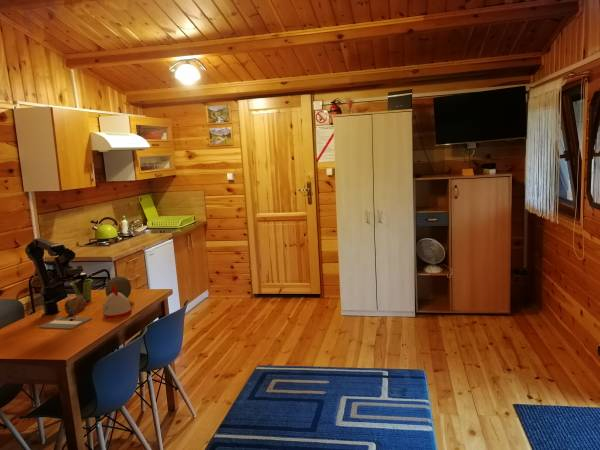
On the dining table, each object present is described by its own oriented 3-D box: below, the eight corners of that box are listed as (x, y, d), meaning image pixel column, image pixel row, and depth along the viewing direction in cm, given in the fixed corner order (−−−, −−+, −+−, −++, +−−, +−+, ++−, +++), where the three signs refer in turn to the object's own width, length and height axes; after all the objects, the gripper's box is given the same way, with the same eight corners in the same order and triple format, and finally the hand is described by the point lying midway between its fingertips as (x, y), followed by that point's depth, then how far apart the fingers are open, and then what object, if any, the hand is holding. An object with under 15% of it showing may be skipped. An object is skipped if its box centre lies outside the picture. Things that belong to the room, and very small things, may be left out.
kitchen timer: (126, 307, 256) (123, 281, 254) (135, 313, 246) (131, 285, 243) (100, 314, 248) (96, 287, 246) (108, 320, 237) (104, 291, 235)
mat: (38, 327, 233) (38, 326, 233) (59, 318, 246) (59, 316, 246) (71, 329, 227) (71, 328, 227) (91, 319, 241) (91, 318, 241)
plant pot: (95, 295, 284) (92, 277, 282) (95, 301, 273) (92, 282, 271) (73, 299, 279) (70, 281, 278) (72, 304, 268) (70, 285, 267)
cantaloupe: (101, 305, 264) (97, 279, 261) (122, 297, 276) (119, 273, 273) (117, 308, 256) (114, 281, 254) (138, 300, 268) (135, 275, 266)
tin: (69, 316, 248) (67, 301, 246) (64, 316, 248) (62, 301, 247) (87, 307, 262) (85, 292, 261) (82, 307, 263) (80, 292, 261)
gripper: (57, 263, 226) (68, 292, 224) (88, 258, 243) (99, 286, 241) (43, 272, 231) (54, 301, 229) (75, 267, 248) (85, 294, 246)
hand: (74, 295), depth 236 cm, fingers open, 9 cm apart
